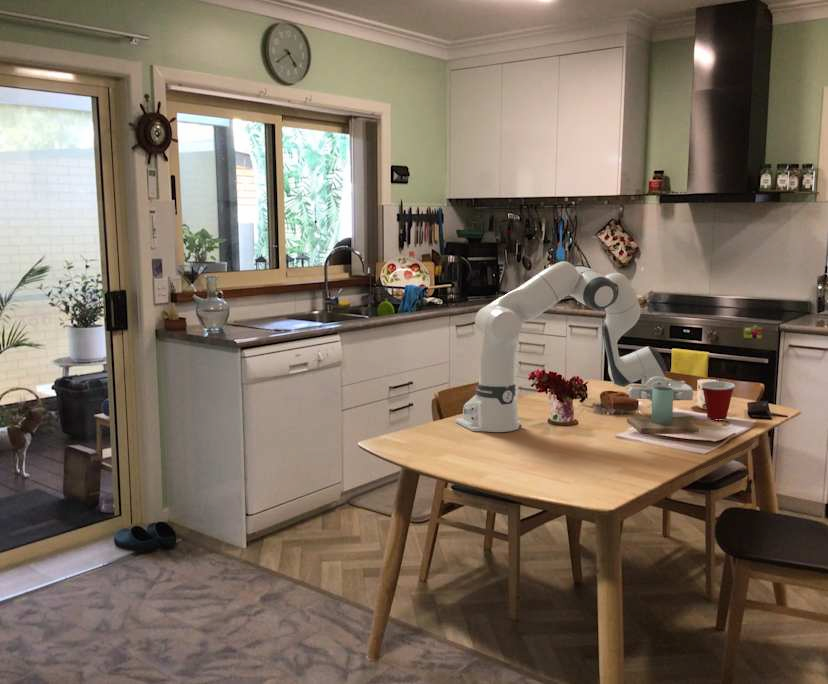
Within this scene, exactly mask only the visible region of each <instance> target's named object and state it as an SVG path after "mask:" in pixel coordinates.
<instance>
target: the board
mask: <svg viewBox="0 0 828 684" xmlns="http://www.w3.org/2000/svg"><path fill="white" fill-rule="evenodd" d="M626 422H627V423H628V424H629V425H630V426H632V427H633V428H634V429H635V430H636V431H637V432H639V433H640V434H688V433H687V432H699V429H700V428H699V427H697V426H696V425H695V424H694V423H692V422H690V421H688V420H687V419H685V418H683V417H682V416H679V417H678V416H672V424H669V425H660V424H654V423H652V422H651V416H649V417H648V416H647V417H646V416H644V417H643V416H641V417H640V416H638V417H637V416H632V417H630V416H628V417H627V416H626Z"/></svg>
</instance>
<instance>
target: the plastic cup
mask: <svg viewBox="0 0 828 684" xmlns="http://www.w3.org/2000/svg"><path fill="white" fill-rule="evenodd" d="M700 386H701V388H702V391H703V395H704V405H705V409H706V416H707V419H708V418H711V419H718V420H719V419H727V416H728V411H729V408H730V403H731V400H732V395H733V392H734V390H735V387H736V385H735V383H733V382H728V381H720V380H714V381H705V382H702V383H701V384H700ZM718 420H717V421H718Z"/></svg>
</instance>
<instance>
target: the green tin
mask: <svg viewBox="0 0 828 684" xmlns="http://www.w3.org/2000/svg"><path fill="white" fill-rule="evenodd" d="M673 405H674V401H673V388H668V387H653V388H652V401H651V416H650V417H651V422H652V423H654V424H660V425H669V424H672V417H673V409H674V406H673Z"/></svg>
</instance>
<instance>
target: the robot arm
mask: <svg viewBox="0 0 828 684" xmlns="http://www.w3.org/2000/svg"><path fill="white" fill-rule="evenodd" d="M567 296H571V297H572V298H574V299H575V300H576V301H577V302H579V303H580V304H582V305H584V306H586V307H588V308H589V309H592V310H604V311H605V320H604V321H603V323H602V324H601V334H602V340H603V344H604V350H605V354H606V359H607V366H608V368H607V369H608V370H607V371H608V375H609V378H610V380H611V381H612V383H613V384H614V385H616V386H618V387H622V388H625V387H627V386H629V387H628V388H626V391H627V393H628V398H629V399H632V400H633V399H635V400H649V401H650V402H652V388H653V387H668V388H673V402H674V401H693V398H694V389H693V387H692V386H690V385H689V384H686V381H685V380H681V379H675V378H674V379H673V378H669V377H666V376H665V375H666V374H667V366H666V363H665V360H664V358H663V357H662V355H661V353H660V352H659V351H658V350H657V348H654V347H652V346H650V345H647V346H644V347H643V348H640V349H637V350H635V351H632V352H631V353H628V354H625V355H623V356H620V353H619V349H618V341H619V340H620V339H621V337H622V336H623V335H624V334H625V333H627V332H628V331H629V330H630V329H632V328H633V327H634V326H636V324H637V322H638V321H639V319H640V318H641V317H640V316H641V313H642V308H641V306H640V301H639V299H638V298H639V297H637V293H636V292H635V289H634V288H633V286H632V284H631V283H630V281H629V279H628V278H627V277H626V276H625V274H623V273H621V272H612V273H611V272H610V273H608V274H605V276H604V275H602V274H601V273H599V272H598V271H597V270H595V269H593V268H589V266H586V265H583V264H572V263H571V262H569V261H566V260H564V261H563V260H562V261H559V262H557V263H554V264H552V265H550V266H548V267H545V269H543V270H541V271H540V272H538V273H537V274H536V275H534V276H533V277H532V278H529V280H527V281H525V282H524V283H522V284H520V285H519V286H518V287H516V288H515V289H513V290H512V291H509V292H508V293H506V294H505V295H502V296H500V297H499V298H497V299H495V300H493V301H492V302H490V303H489V304H487V305H485V306H483V307H482V308H480V309H479V310H478V311H477V313H476V315H475V319H474V324H475V327H476V330H477V332H478V333H479V334H480V335H481V336H482V337H483V343H482V348H481V349H482V350H481V353H480V357H479V371H478V375H479V377H478V378H479V379H478V382H479V383H477V384H474V389H476V390H475V394H474V396H472V397H471V398H470V399H469V400H468V401H467V402H466V403H464V405H463V408H462V416H461V417H458V418H456V419H455V423H457V424H458V425H461V426H463V427H464V428H466V429H468V430H469V431H473V432H488V433H490V432H491V433H506V432H513V431H516V430H519V427H520V426H521V421H520V420H519V413H518V411H519V410H518V403H517V399H516V398H515V396H516V391H517V389H516V384H515V359H516V354H517V353H516V352H517V347H518V342H519V336H520V333H521V331H522V324H525V323H526V322H528V321H530V320H532V319H535V318H537V317H539V316H540V315H542V314H543V313H545V312H546V311H548V310H550V308H552V307H554V306H555V305H556V304H558V303H559V302H560V301H562V300H563V299H565V297H567ZM639 380H641V384H633V383H635V382H638V381H639Z"/></svg>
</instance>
